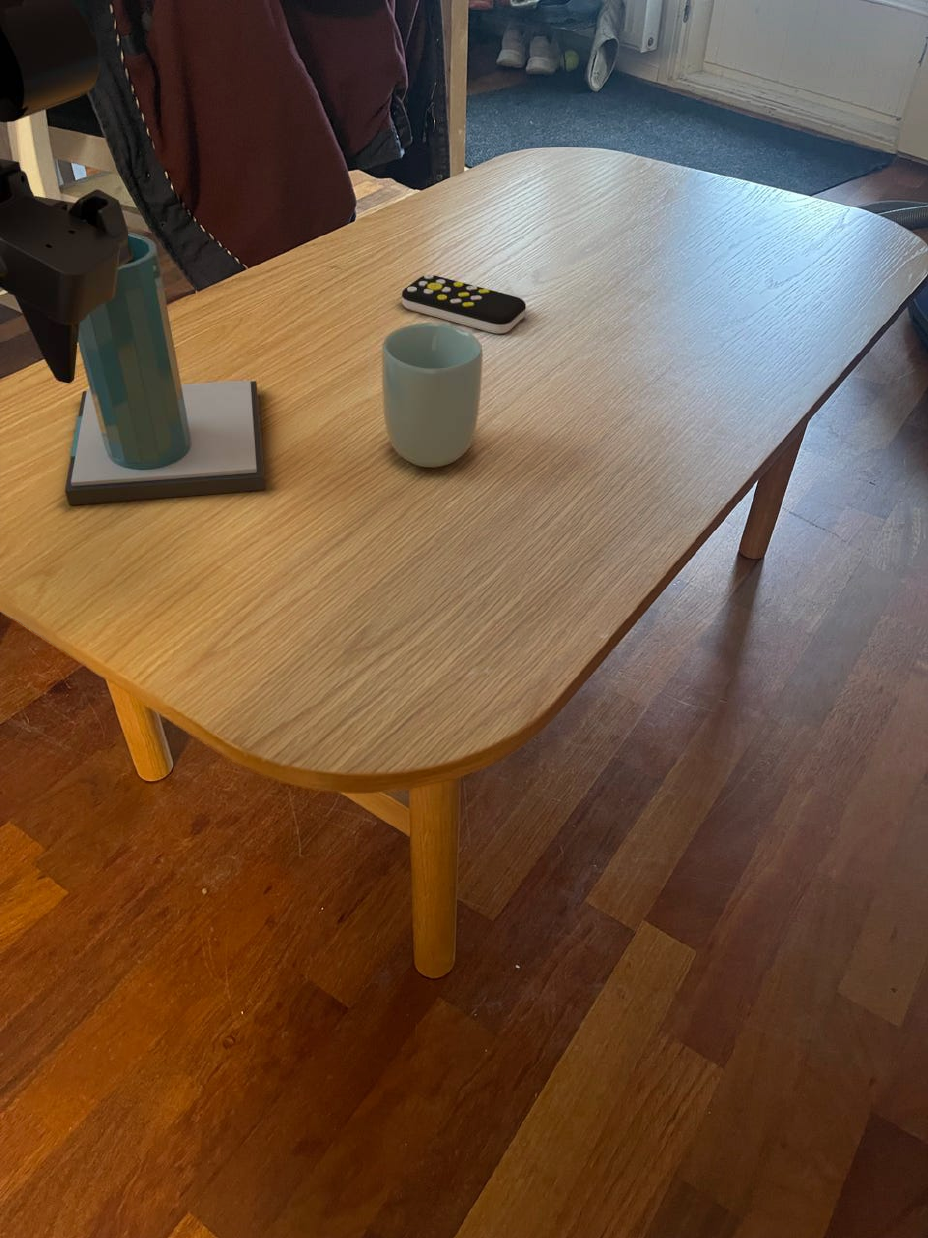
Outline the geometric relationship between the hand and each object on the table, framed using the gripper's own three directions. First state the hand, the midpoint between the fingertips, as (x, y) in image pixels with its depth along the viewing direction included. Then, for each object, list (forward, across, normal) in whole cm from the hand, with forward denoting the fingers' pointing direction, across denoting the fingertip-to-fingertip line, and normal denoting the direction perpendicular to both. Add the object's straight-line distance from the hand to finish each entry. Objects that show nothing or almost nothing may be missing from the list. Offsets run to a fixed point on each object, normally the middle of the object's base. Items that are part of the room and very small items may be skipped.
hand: (21, 416), depth 58 cm
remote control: (+13, +51, -13) cm, 54 cm away
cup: (+13, +24, -19) cm, 33 cm away
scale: (+13, +17, +2) cm, 22 cm away
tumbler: (+11, +14, +2) cm, 18 cm away
